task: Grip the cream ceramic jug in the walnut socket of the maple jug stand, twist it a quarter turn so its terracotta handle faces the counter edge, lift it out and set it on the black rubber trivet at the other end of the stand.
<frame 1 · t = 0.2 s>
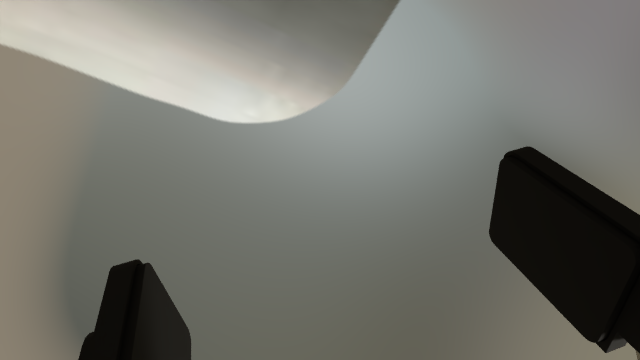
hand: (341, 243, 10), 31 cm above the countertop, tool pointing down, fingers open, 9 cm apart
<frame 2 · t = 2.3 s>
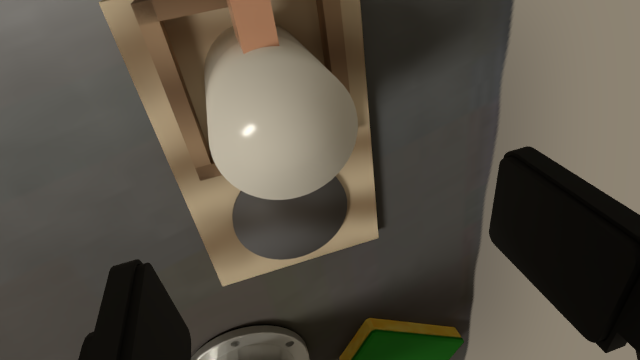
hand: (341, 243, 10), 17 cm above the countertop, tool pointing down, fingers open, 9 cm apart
dish sponge: (397, 338, 46), on the countertop
jug: (258, 75, 23), point 1 cm above the countertop, touching jug stand
jug stand: (274, 145, 27), on the countertop
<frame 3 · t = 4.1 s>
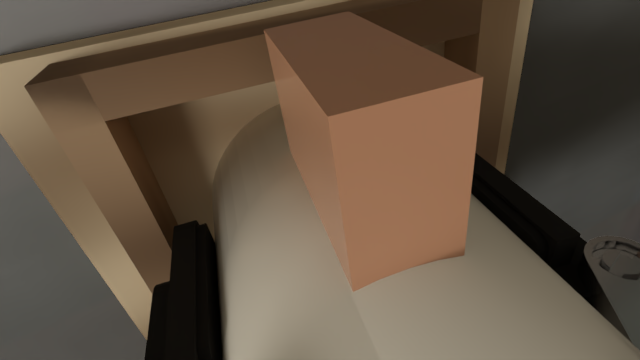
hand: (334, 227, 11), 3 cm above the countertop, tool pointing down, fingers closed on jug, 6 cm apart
jug: (316, 191, 12), point 1 cm above the countertop, touching gripper, jug stand
jug stand: (329, 281, 16), on the countertop
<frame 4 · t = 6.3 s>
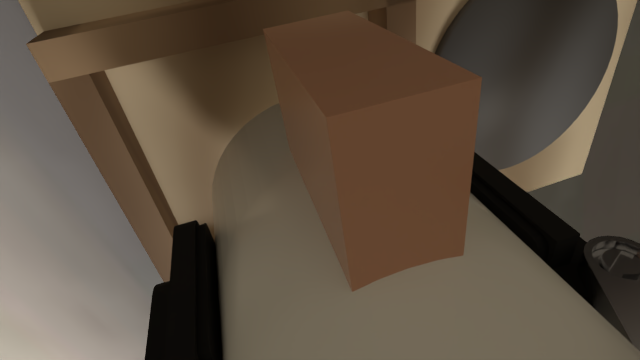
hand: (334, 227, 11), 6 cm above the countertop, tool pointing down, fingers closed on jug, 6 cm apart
jug: (316, 190, 12), point 4 cm above the countertop, touching gripper
jug stand: (390, 99, 16), on the countertop
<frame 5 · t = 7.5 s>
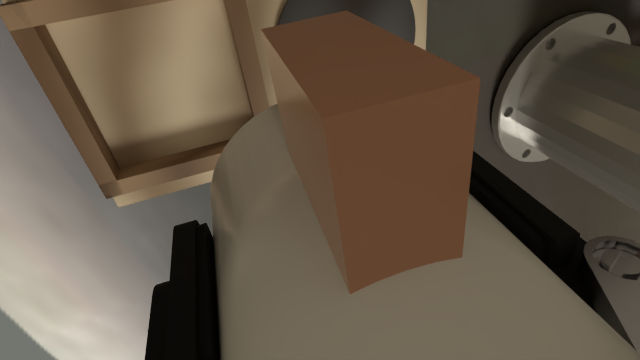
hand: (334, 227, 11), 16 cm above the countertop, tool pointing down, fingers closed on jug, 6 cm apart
jug: (315, 190, 12), point 14 cm above the countertop, touching gripper
jug stand: (257, 59, 23), on the countertop
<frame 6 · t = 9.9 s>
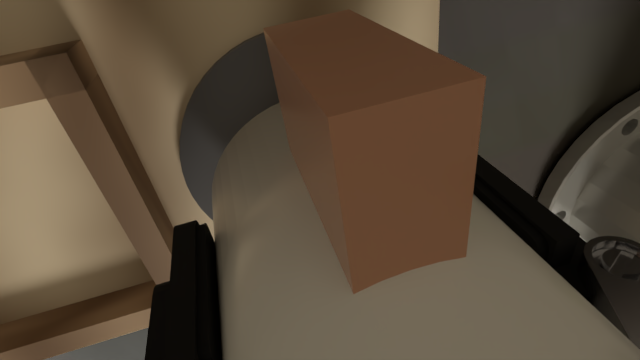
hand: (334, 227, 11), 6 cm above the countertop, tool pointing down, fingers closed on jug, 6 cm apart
jug: (316, 190, 12), point 4 cm above the countertop, touching gripper
jug stand: (161, 172, 15), on the countertop
when the fingers open (5 cm above the countertop, at t = 10.7 s): jug drops 2 cm, resting on jug stand.
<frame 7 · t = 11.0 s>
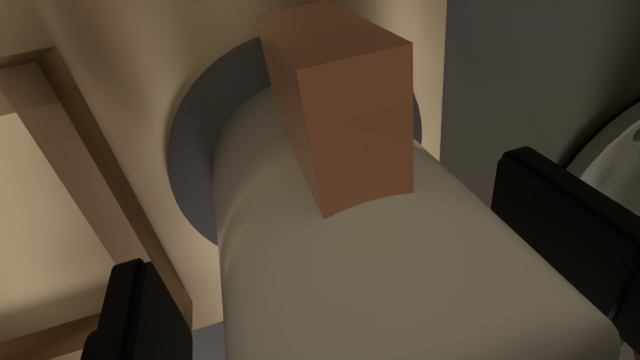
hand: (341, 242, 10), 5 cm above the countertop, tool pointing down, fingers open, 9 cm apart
jug: (306, 166, 13), point 1 cm above the countertop, touching jug stand
jug stand: (149, 186, 14), on the countertop
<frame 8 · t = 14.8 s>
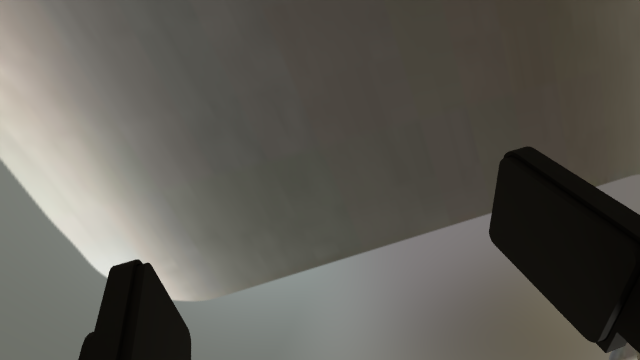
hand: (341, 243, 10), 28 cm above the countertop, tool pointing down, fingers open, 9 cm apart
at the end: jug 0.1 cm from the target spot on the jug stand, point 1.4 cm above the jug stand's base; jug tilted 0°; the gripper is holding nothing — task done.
